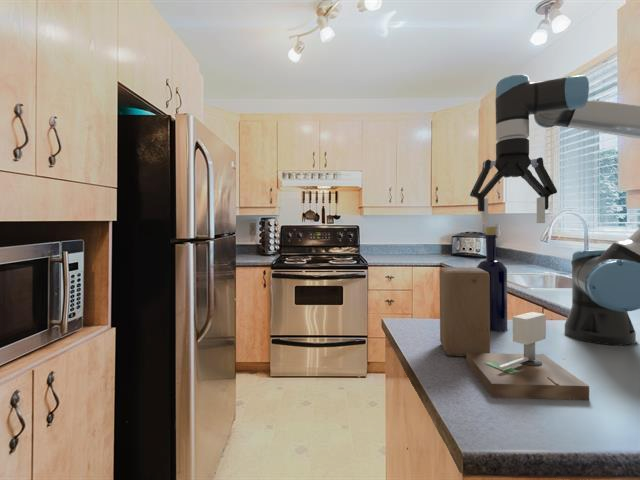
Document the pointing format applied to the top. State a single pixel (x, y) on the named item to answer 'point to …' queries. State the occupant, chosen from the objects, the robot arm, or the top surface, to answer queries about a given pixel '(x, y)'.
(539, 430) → the top surface
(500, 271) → the bottle
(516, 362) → the cream block and rod
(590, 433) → the top surface
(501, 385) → the board
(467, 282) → the wooden block
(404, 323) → the top surface
